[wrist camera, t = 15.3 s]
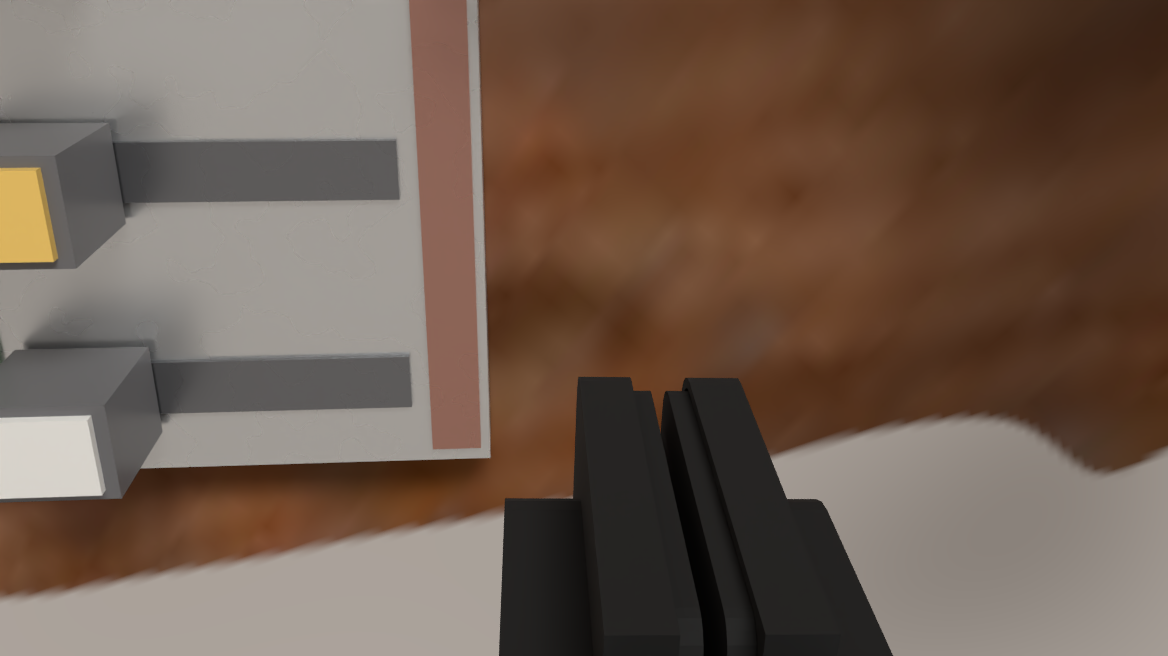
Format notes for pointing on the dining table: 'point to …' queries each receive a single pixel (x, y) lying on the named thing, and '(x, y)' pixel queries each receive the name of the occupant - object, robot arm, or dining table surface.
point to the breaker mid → (56, 194)
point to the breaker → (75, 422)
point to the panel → (273, 219)
